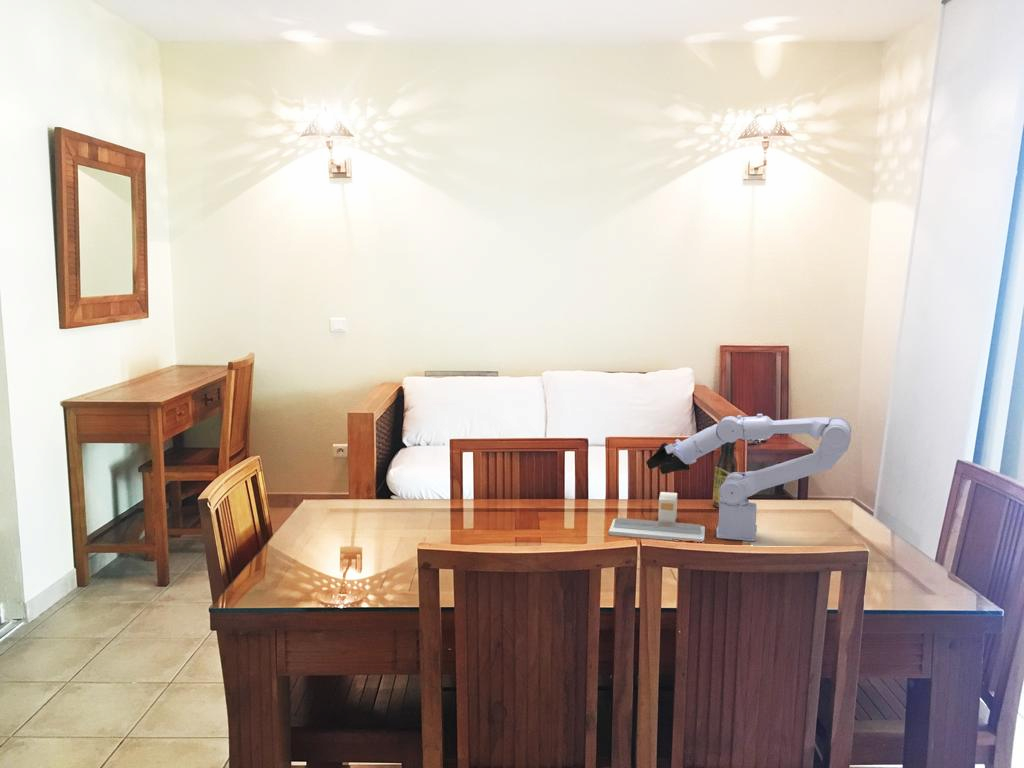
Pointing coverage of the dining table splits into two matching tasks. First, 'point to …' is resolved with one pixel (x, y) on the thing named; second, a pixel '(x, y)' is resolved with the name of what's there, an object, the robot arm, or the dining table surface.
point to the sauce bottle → (723, 468)
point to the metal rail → (657, 526)
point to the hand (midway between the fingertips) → (654, 468)
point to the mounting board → (656, 534)
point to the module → (667, 507)
